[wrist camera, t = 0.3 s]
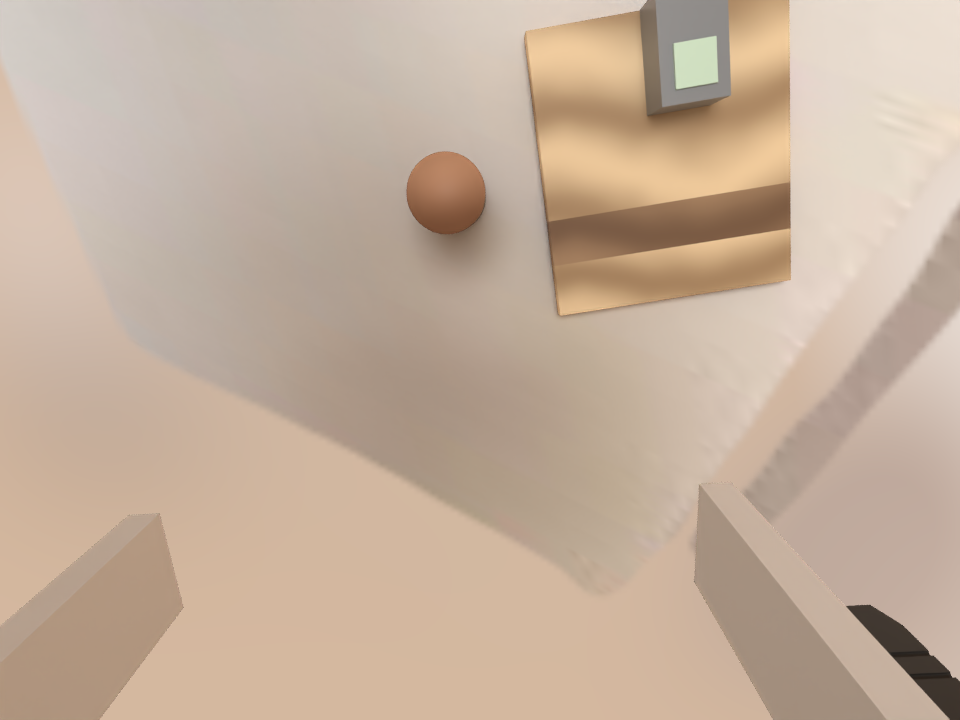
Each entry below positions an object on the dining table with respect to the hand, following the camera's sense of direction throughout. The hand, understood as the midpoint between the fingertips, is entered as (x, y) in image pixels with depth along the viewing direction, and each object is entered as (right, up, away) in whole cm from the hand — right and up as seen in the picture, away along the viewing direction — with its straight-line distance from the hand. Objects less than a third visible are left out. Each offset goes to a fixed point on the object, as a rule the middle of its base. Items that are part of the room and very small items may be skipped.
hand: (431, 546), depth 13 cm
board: (+13, +18, +23) cm, 32 cm away
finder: (+13, +23, +20) cm, 34 cm away
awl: (-1, +16, +24) cm, 28 cm away
